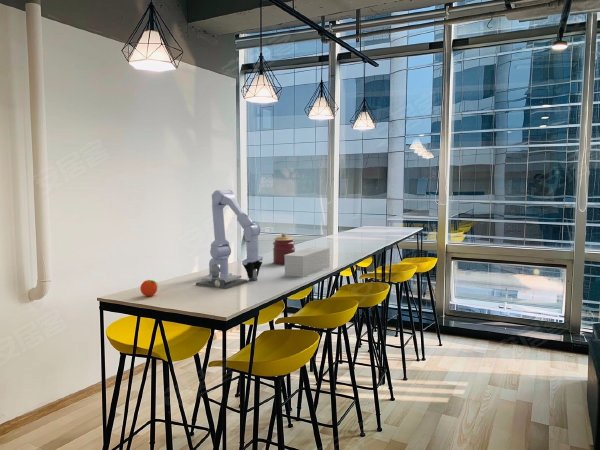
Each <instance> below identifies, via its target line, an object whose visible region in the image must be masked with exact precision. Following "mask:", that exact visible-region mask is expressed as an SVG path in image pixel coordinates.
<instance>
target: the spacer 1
mask: <svg viewBox="0 0 600 450" xmlns="http://www.w3.org/2000/svg"><path fill="white" fill-rule="evenodd" d="M212 277H220V264H213V265H212Z"/></svg>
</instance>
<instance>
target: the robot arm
mask: <svg viewBox="0 0 600 450" xmlns="http://www.w3.org/2000/svg"><path fill="white" fill-rule="evenodd" d="M211 201H212V202H211V203H212V204H211V208H212V209H211V210H212V222H213V225H212V226H213V234H214V240H213V241H212V242H211V244H210V251H209V254H210V257H211V259H210V260H209V263H208V266H209V267H208V269H209V271H208V272H209V274H208V276H211V275H212V265H213V264H220V274H228V275H233V273H231V272H229V257H230V256H231V253H232V249H231V246H230V241H228V240H227V239H226V230H225V229H226V227H225V218H224V208H225V207H226V206H228V207H229V208H230V210H232V212H233V213H234V214H235V216H236V221H237V222H238V223H239V225H240V226H241V228H242V229H243V231H242V233H243V235H244V239H245V241H246V244H245V245H246V246H245V247H246V258H245V259H243V260H241V265H242V266H243V268H244V269H245V271H246V274H247V278H248V279H249V278H253V269H254V268H256V269H257V278H258V277H259V273H260V269H261V266H262V265H263V262H262V261H263V256H259V235H260V233H261V228H260V226H259V225H258V223H254V221H252V219H251V217H250V215H249V213H247V212H244V211H243V210H242V207H241V206H240V204H239V203H238V202H237V199H236V195H235V193H234V192H233V190H231V189H226V190H225V189H223V190H221V189H218V190H217V189H216V190H215V191H214V192H213V193H212V194H211Z"/></svg>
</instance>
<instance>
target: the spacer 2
mask: <svg viewBox="0 0 600 450" xmlns="http://www.w3.org/2000/svg"><path fill="white" fill-rule="evenodd" d="M248 281H249V282H257V281H258V277H257V269H256V268H254V269H253V278H248Z"/></svg>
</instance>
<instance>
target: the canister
mask: <svg viewBox="0 0 600 450" xmlns="http://www.w3.org/2000/svg"><path fill="white" fill-rule="evenodd" d="M273 240H274V241H273V243H272V245H273V248H272V249H273V255H272V256H273V260H272V261H273V264H275V265H285V260H284V255H286V254H290V253H293V252H296V248H295V243H296V242H295V241H294V238H293V237H292V236H288V235H287V234H286V233H285V232H282V233H281V236H280V235H279V236H276V237H275V238H274V239H273Z"/></svg>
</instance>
